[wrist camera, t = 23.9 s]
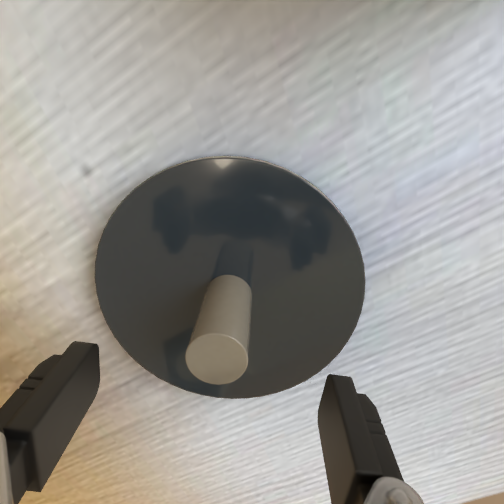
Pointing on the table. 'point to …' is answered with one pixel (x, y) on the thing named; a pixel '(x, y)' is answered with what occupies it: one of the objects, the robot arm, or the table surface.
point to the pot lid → (230, 277)
